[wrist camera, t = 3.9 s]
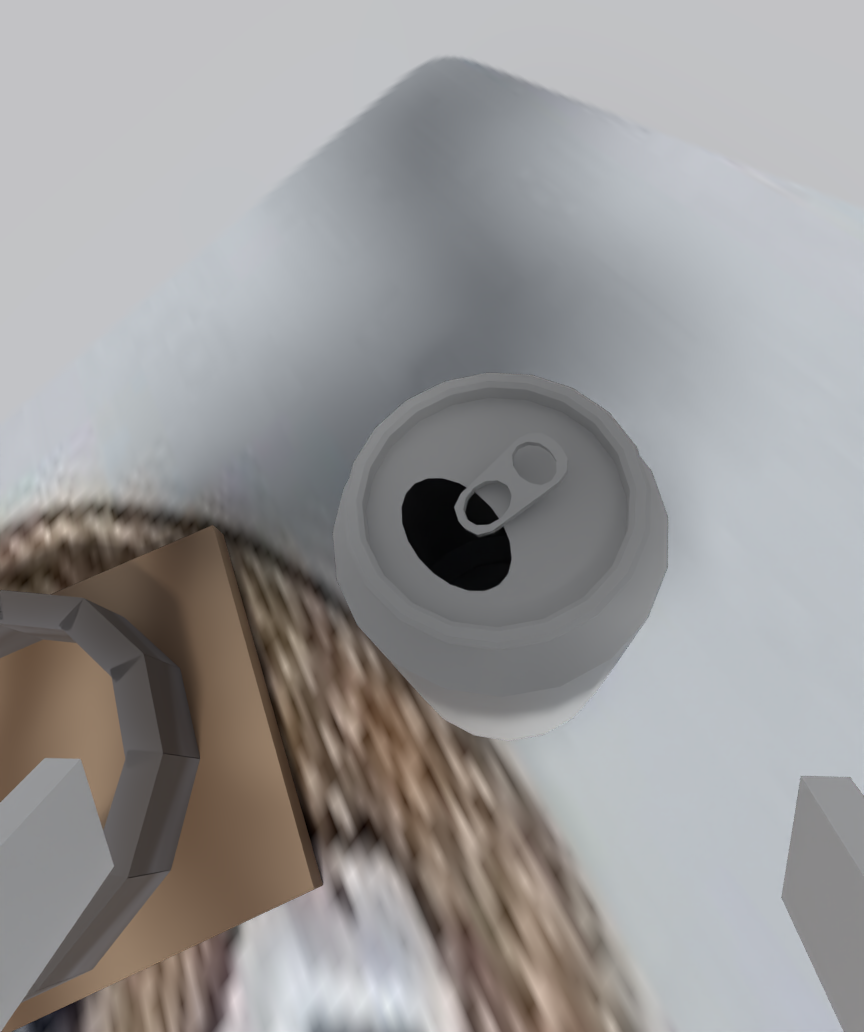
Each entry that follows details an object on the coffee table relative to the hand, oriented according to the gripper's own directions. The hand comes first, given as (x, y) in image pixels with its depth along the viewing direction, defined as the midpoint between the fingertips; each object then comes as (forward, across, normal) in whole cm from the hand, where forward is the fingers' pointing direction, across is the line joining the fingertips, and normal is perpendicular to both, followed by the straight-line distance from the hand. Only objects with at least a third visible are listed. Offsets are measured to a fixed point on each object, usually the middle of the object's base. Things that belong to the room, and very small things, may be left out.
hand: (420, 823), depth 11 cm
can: (+12, +2, -3) cm, 12 cm away
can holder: (+8, -16, -7) cm, 19 cm away
